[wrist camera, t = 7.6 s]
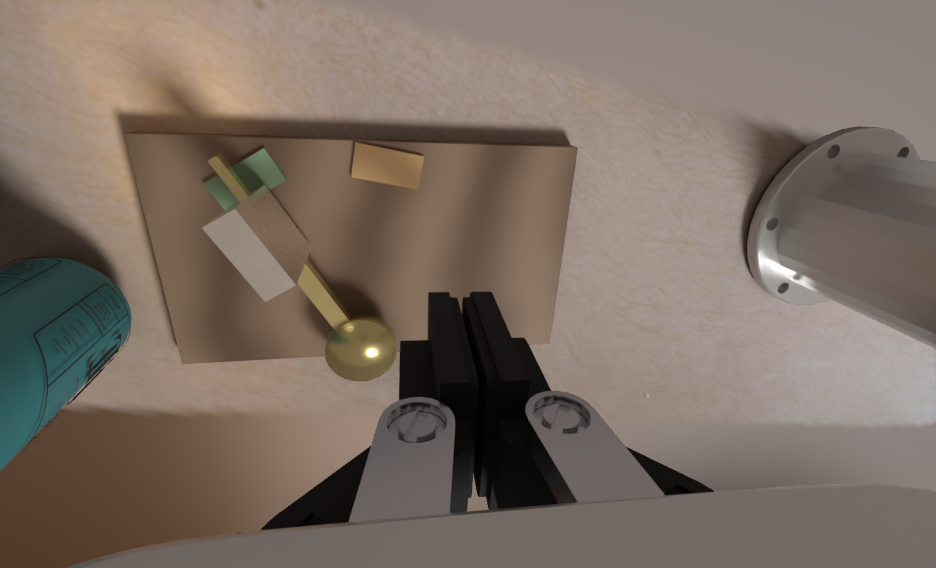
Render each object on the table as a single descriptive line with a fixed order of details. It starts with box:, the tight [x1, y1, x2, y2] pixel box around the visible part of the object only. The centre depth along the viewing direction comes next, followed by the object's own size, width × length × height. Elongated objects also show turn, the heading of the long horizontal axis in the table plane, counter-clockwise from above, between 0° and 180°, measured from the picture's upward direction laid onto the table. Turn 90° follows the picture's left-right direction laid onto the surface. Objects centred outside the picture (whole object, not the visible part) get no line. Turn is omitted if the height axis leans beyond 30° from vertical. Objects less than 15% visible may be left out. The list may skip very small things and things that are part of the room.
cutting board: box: [124, 132, 578, 364], centre depth 26 cm, size 23×13×2 cm, turn 87°
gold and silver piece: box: [202, 154, 396, 381], centre depth 22 cm, size 14×4×5 cm, turn 27°
